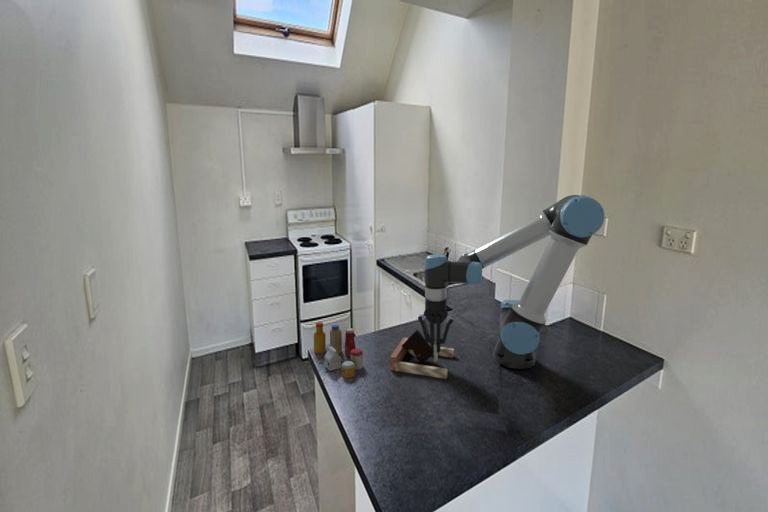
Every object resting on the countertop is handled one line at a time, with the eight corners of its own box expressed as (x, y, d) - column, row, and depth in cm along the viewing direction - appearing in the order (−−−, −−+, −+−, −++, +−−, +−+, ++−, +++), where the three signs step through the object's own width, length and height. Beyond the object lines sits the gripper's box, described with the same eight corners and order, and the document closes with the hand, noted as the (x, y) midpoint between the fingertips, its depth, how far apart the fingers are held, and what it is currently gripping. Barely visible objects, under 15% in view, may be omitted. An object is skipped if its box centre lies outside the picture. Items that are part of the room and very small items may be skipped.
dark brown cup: (437, 349, 133) (417, 328, 135) (420, 366, 132) (401, 346, 134) (435, 349, 144) (417, 330, 146) (420, 365, 143) (401, 346, 145)
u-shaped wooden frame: (453, 355, 143) (454, 343, 142) (446, 378, 126) (447, 365, 125) (403, 348, 149) (403, 337, 148) (390, 369, 132) (390, 356, 131)
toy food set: (311, 351, 147) (310, 322, 145) (340, 344, 154) (340, 316, 151) (339, 381, 125) (338, 348, 123) (372, 371, 131) (372, 340, 129)
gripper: (454, 296, 133) (454, 357, 138) (420, 294, 137) (420, 353, 141) (452, 302, 126) (451, 366, 131) (416, 300, 130) (416, 362, 134)
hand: (435, 360), depth 136 cm, fingers closed
